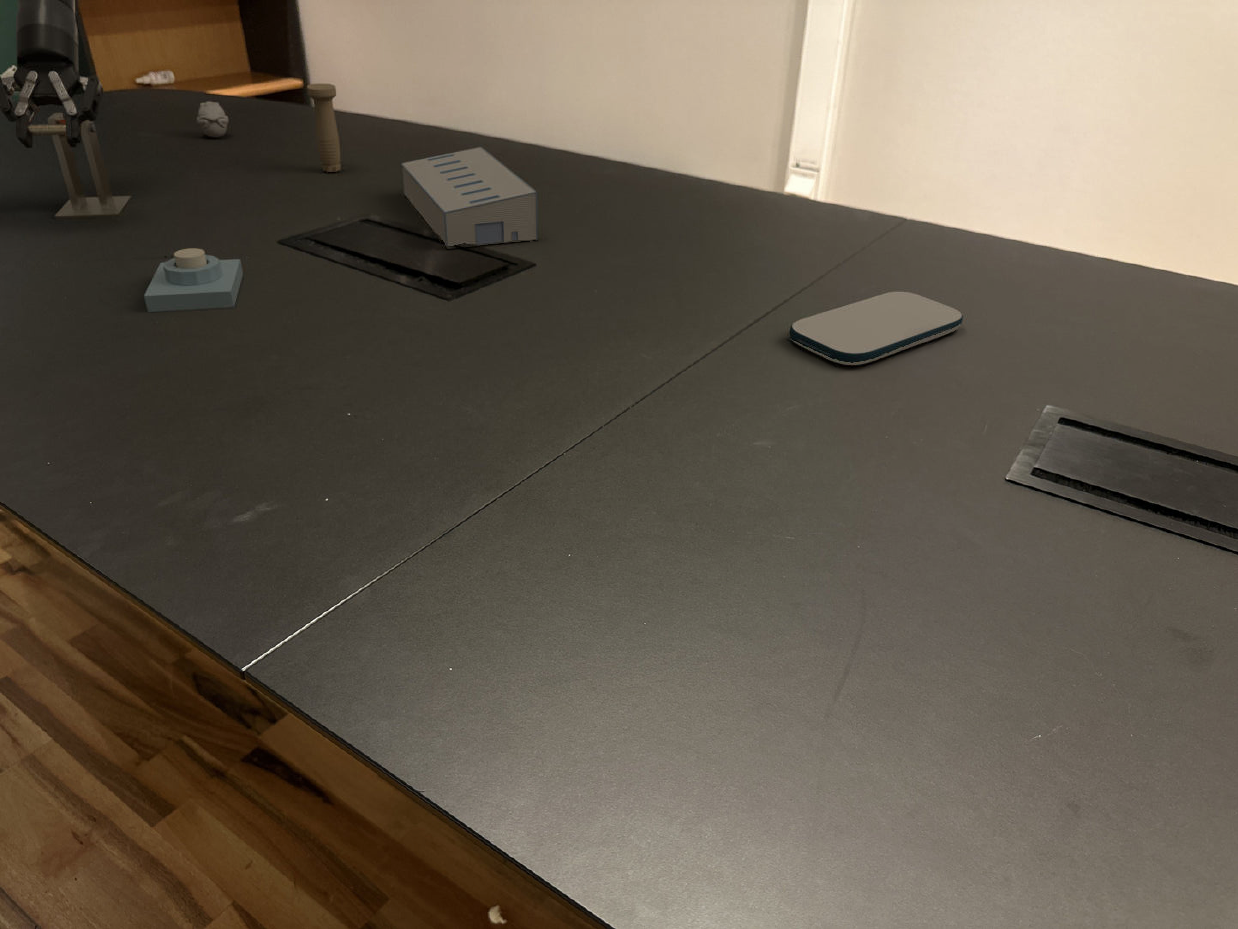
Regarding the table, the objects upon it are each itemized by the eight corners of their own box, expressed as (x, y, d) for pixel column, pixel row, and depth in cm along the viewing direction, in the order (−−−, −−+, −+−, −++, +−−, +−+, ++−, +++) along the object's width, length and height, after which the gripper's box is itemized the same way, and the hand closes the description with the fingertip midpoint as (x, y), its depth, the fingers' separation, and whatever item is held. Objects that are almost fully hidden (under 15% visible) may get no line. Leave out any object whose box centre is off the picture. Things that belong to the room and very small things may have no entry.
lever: (69, 138, 127) (65, 120, 126) (30, 139, 126) (25, 120, 125) (95, 135, 139) (91, 119, 138) (59, 136, 138) (55, 119, 137)
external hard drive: (898, 301, 123) (900, 287, 122) (970, 330, 115) (974, 315, 114) (777, 339, 111) (779, 324, 110) (849, 374, 103) (852, 359, 102)
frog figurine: (230, 132, 193) (223, 98, 190) (232, 140, 188) (226, 104, 184) (199, 134, 191) (192, 99, 187) (201, 141, 186) (194, 105, 182)
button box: (234, 307, 113) (227, 277, 111) (148, 312, 111) (140, 281, 109) (243, 274, 123) (237, 245, 121) (164, 278, 121) (157, 249, 119)
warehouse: (403, 196, 157) (399, 151, 153) (483, 190, 163) (481, 146, 159) (446, 250, 134) (443, 199, 130) (537, 240, 140) (537, 191, 135)
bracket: (120, 221, 141) (94, 122, 133) (56, 223, 138) (26, 122, 131) (132, 203, 149) (109, 108, 141) (72, 205, 147) (45, 109, 139)
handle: (320, 176, 166) (308, 90, 159) (317, 167, 172) (306, 83, 164) (347, 175, 168) (336, 89, 160) (343, 166, 173) (333, 83, 165)
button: (205, 270, 114) (202, 256, 113) (174, 271, 113) (171, 258, 112) (208, 260, 117) (206, 247, 116) (179, 261, 116) (176, 248, 115)
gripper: (-21, 20, 124) (-22, 129, 121) (93, 21, 128) (96, 128, 124) (3, 56, 132) (4, 160, 128) (110, 56, 135) (114, 158, 131)
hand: (49, 143), depth 126 cm, fingers closed on lever, 5 cm apart
